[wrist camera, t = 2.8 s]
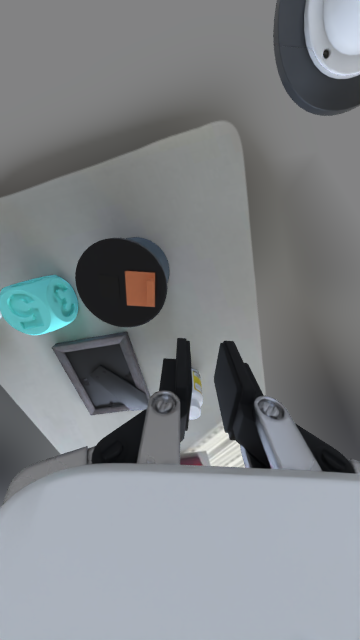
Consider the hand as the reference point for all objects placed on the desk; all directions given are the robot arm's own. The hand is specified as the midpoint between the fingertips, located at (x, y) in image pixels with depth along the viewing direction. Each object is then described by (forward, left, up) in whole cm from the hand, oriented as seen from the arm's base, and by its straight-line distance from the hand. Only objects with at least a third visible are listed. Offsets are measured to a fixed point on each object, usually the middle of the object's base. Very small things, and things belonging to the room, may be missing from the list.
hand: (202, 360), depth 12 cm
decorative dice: (+25, +6, -25) cm, 36 cm away
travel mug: (+9, 0, -25) cm, 27 cm away
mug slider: (+7, 0, -14) cm, 15 cm away
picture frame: (+17, +25, -25) cm, 39 cm away
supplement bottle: (-2, +24, -25) cm, 35 cm away
